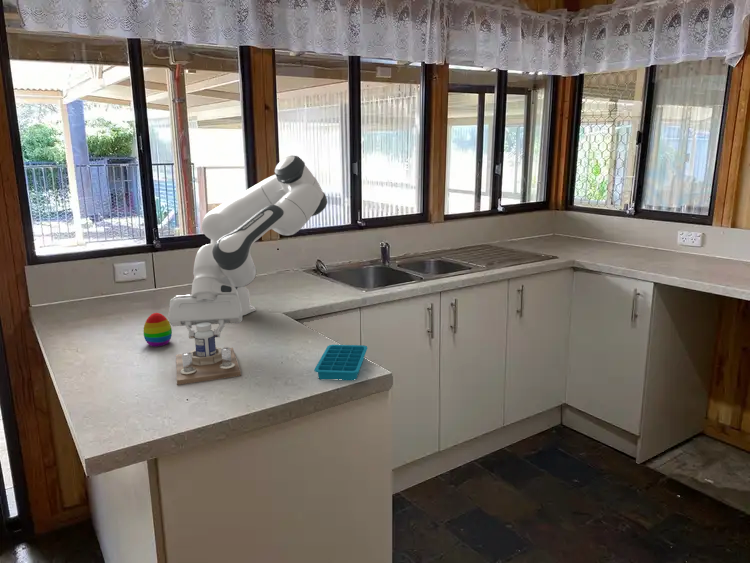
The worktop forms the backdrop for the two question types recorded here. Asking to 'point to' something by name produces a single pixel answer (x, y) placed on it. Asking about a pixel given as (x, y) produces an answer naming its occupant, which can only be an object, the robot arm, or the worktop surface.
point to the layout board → (206, 368)
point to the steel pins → (190, 370)
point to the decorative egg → (157, 330)
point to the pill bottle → (204, 340)
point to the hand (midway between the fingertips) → (204, 337)
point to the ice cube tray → (341, 362)
